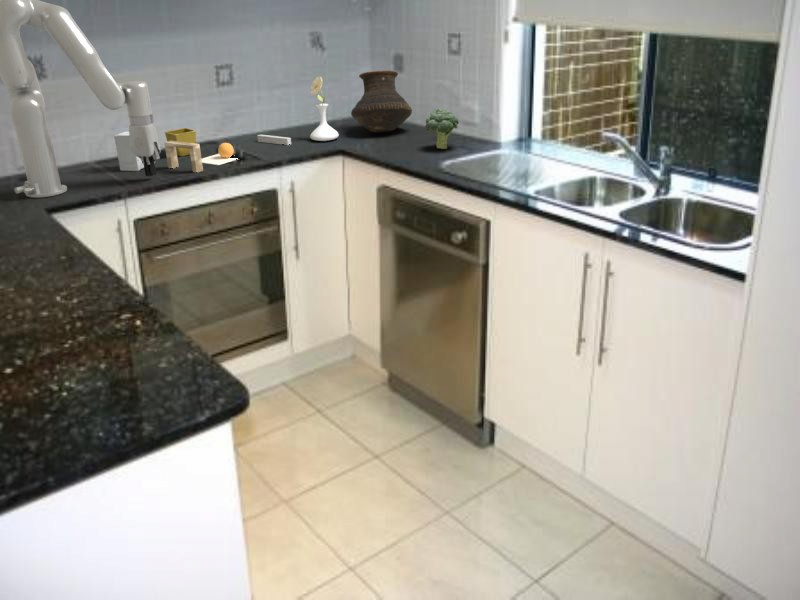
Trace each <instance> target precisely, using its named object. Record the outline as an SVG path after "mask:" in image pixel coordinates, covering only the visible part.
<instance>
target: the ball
mask: <svg viewBox="0 0 800 600" xmlns="http://www.w3.org/2000/svg"><path fill="white" fill-rule="evenodd" d="M234 152H235V150H234V147H233V145H232V144H231V143H229V142H223V143H221V144H220V145H219V146H218V149H217V153H218V154H219V155H220V156H221V157H223V158H230V157H231V156H232V155H234Z"/></svg>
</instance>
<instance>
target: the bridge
mask: <svg viewBox="0 0 800 600" xmlns="http://www.w3.org/2000/svg"><path fill="white" fill-rule="evenodd" d="M163 143H164V148H165V149H164V150H165V154H166V160H167V161H166V162H167V168H168V169H170V168H173V169H177V168H179V167H180V166H179V160H178V155H177V153H176V147H179V148H187V149H189V150H190V155H189V156H190V162H191V169H192V172H193V173H196V172H197V173H201V172H203V171H204V166H203V163H202V153H201V146H200V143H196V144H195V143H187V142H179V141H167V140H166V141H164V142H163ZM176 167H177V168H176Z"/></svg>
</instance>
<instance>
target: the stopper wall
mask: <svg viewBox="0 0 800 600" xmlns="http://www.w3.org/2000/svg"><path fill="white" fill-rule="evenodd" d="M256 135H257V136H256V137H257V142H258V143H265V144H275V145H282V144H284V146H290V145H292V138H291V137H288V136H287V137H286V136H280V135H279V136H277V135H268V134H267V135H266V134H256ZM289 144H290V145H289Z"/></svg>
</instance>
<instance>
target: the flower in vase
mask: <svg viewBox="0 0 800 600" xmlns="http://www.w3.org/2000/svg"><path fill="white" fill-rule="evenodd" d="M323 82H324V81H323V78H322V76H316V78H315V80H312V85H311V87H310V95H311V96H312V97H315V96H316V95H317V94H318V95H317V99H318V100H319V101H320V102H322V103H318V104H315V107H316V108H317V110H318V113H319V119H320V122H319V125H318V126H317V127H316V128H315V129H314V130H312V132H311V134H310V136H309V137H310V139H311V140H312V141H313V140H314V141H320V142H327V141H328V142H329V141H332V140H335V139H337V138H338V137H339V135H340V134H339V132H338V131H337V130H336V129H334V128H333V127H332V126H330V125H329V124H328V122H327V109H328V106H329V103H326V96H325V95H324V92H323V91H322V89H321V88H322V87H323ZM319 92H321V95H322V96H321V95H320V94H319Z"/></svg>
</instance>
